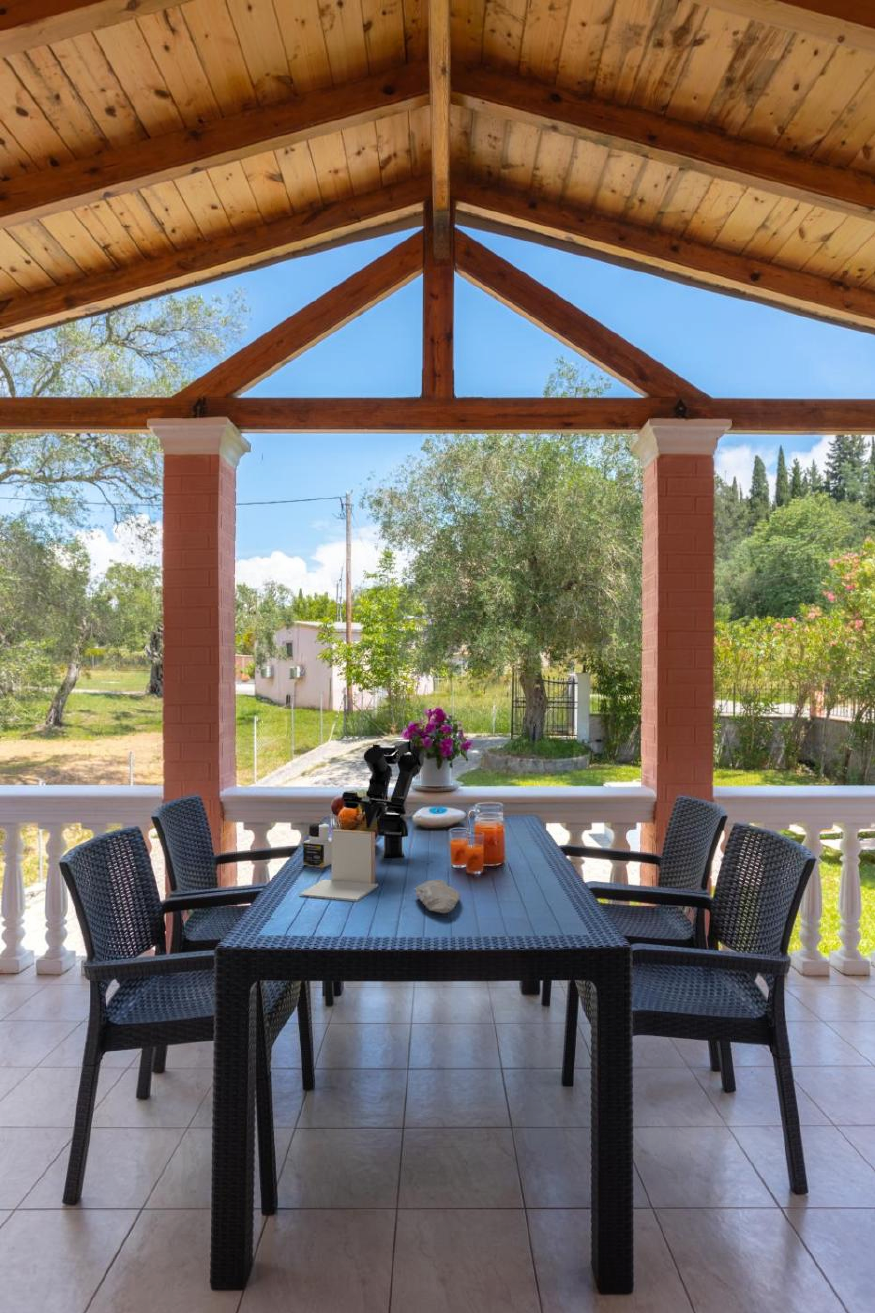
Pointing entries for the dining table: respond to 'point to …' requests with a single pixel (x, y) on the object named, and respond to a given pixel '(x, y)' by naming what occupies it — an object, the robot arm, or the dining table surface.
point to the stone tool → (437, 896)
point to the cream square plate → (339, 890)
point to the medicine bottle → (317, 846)
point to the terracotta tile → (353, 856)
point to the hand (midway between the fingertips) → (368, 828)
